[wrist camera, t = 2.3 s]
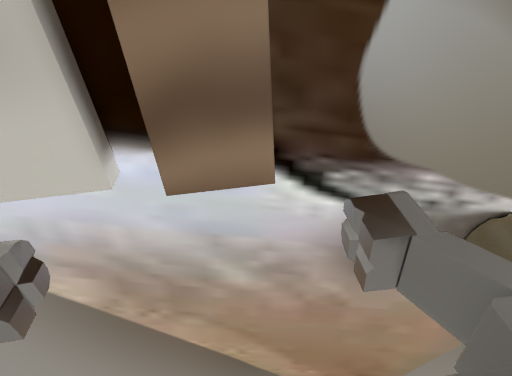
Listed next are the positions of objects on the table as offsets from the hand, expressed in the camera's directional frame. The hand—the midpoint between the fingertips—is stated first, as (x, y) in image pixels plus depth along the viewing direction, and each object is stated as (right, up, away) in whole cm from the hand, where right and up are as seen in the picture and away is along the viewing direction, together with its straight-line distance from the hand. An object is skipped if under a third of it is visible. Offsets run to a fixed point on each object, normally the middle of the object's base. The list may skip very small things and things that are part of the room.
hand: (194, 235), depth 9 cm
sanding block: (-1, +8, +10) cm, 13 cm away
